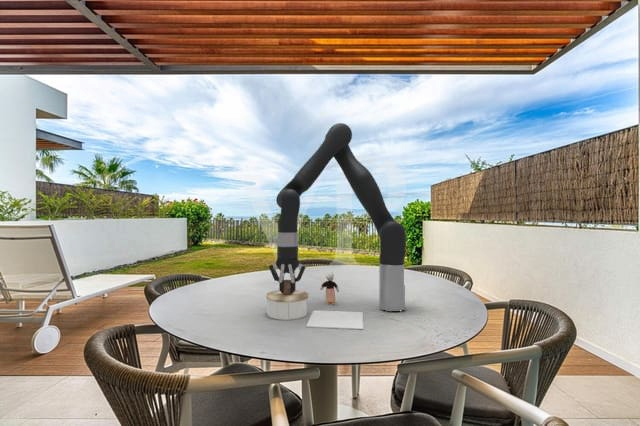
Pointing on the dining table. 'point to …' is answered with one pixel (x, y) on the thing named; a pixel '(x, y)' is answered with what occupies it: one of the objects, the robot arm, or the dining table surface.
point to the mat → (336, 320)
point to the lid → (287, 294)
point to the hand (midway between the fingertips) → (287, 292)
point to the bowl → (286, 309)
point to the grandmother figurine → (330, 289)
